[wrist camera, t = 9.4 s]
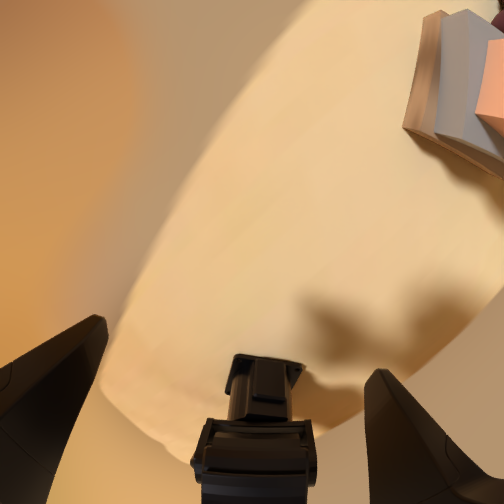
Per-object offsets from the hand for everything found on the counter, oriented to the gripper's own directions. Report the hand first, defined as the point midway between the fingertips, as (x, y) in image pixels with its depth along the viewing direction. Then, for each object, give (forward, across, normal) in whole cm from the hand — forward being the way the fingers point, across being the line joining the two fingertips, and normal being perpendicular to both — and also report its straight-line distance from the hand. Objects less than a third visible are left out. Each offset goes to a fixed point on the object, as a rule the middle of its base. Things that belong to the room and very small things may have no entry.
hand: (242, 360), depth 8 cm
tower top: (+10, -12, -13) cm, 21 cm away
